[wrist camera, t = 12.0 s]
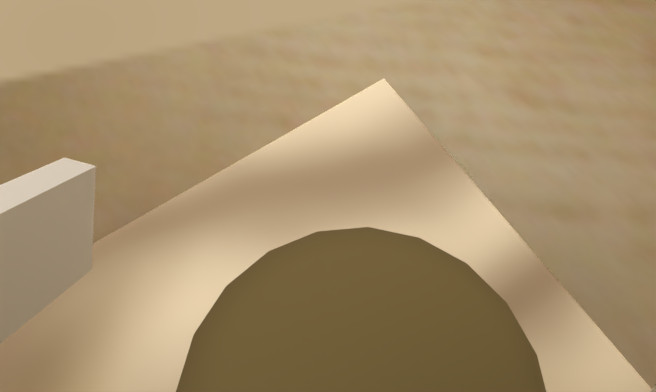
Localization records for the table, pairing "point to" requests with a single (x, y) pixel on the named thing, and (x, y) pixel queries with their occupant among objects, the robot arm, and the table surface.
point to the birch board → (287, 226)
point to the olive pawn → (360, 323)
